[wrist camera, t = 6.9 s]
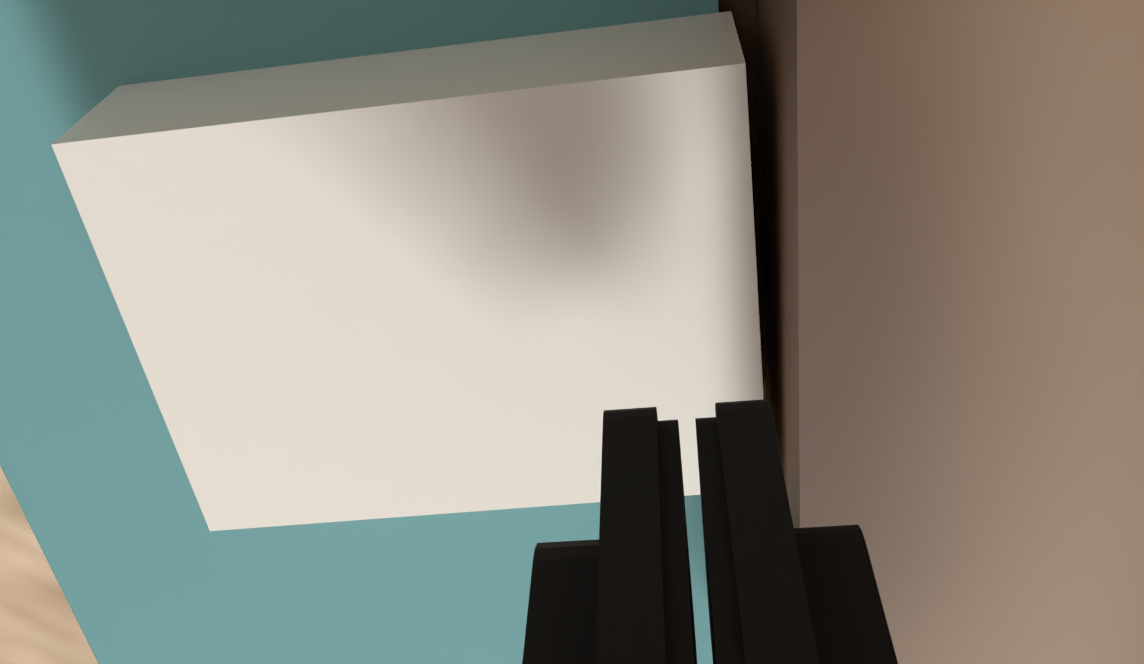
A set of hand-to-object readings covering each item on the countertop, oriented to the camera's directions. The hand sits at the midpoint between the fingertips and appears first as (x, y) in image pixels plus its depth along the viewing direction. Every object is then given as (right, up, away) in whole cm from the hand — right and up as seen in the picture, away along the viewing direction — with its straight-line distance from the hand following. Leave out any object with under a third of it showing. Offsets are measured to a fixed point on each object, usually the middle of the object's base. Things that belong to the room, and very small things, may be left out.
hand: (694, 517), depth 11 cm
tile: (-3, +3, +4) cm, 6 cm away
